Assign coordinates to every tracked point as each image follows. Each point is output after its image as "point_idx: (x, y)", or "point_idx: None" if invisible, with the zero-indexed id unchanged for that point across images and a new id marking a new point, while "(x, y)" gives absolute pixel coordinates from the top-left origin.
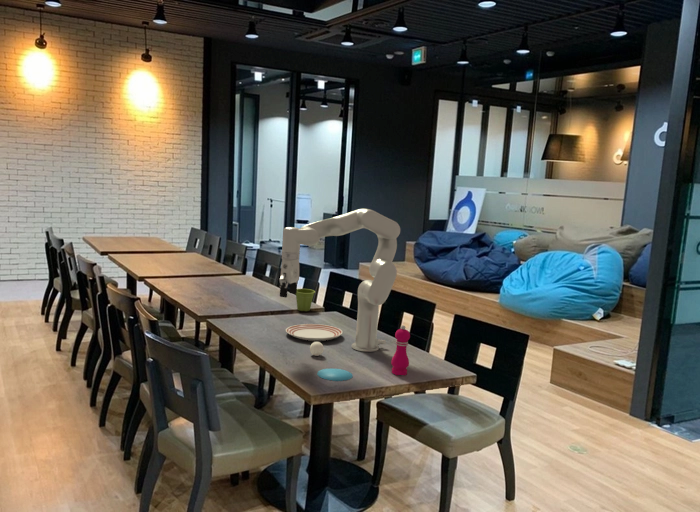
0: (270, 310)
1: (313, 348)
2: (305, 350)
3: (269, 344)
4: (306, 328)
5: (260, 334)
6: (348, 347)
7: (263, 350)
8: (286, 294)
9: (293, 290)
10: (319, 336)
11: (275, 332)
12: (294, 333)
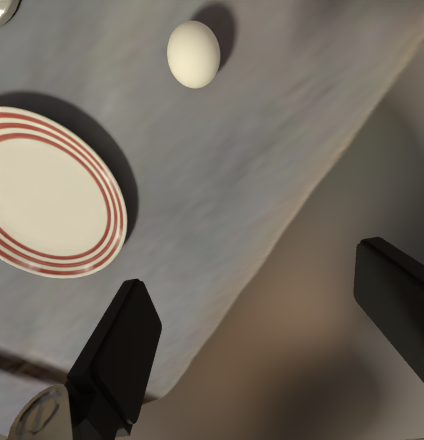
0: (9, 376)
1: (219, 52)
2: (178, 130)
3: (209, 235)
4: (28, 250)
5: (160, 294)
6: (25, 29)
7: (262, 215)
8: (404, 254)
9: (140, 321)
10: (43, 180)
11: (118, 283)
12: (90, 245)
